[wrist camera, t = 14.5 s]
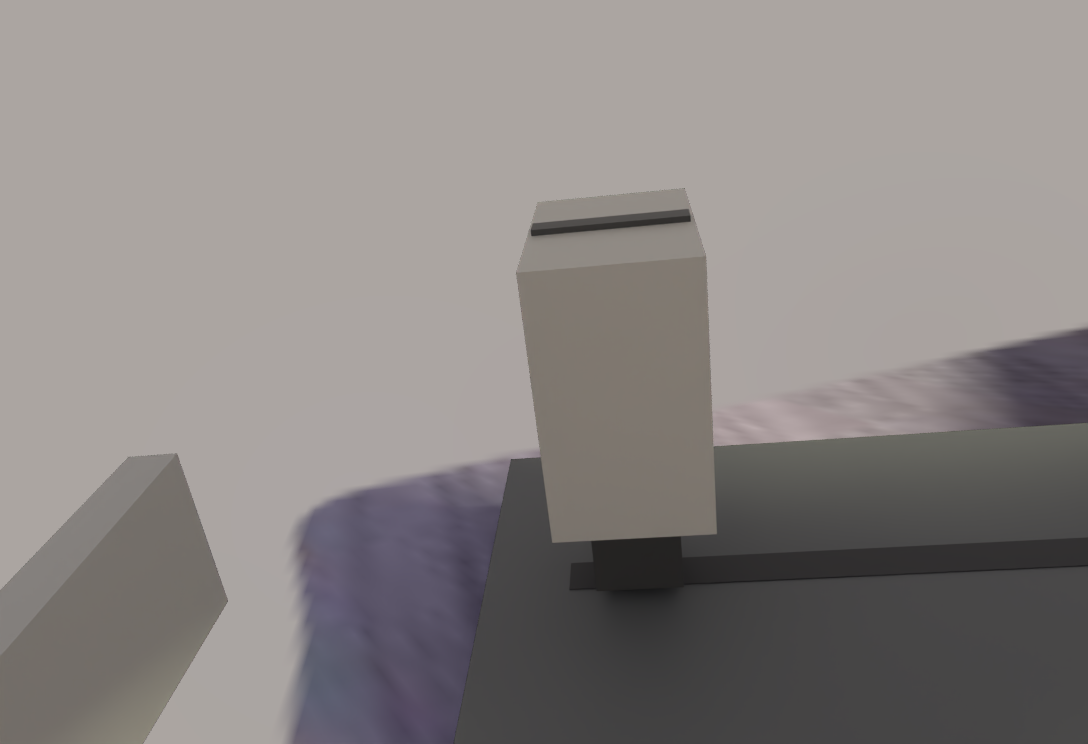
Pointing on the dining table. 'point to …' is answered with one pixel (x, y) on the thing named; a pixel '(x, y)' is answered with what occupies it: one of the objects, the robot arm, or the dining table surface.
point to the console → (809, 604)
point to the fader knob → (621, 379)
